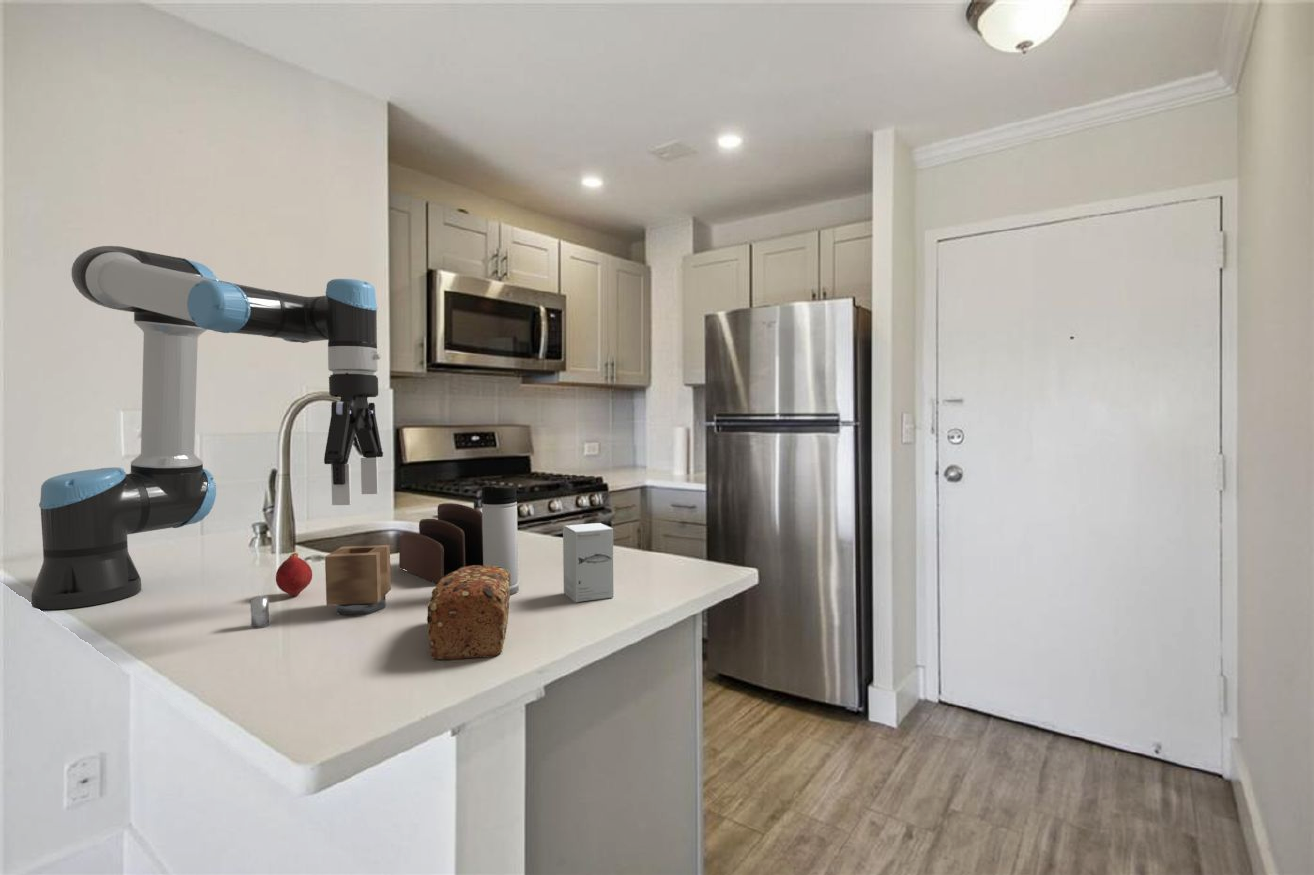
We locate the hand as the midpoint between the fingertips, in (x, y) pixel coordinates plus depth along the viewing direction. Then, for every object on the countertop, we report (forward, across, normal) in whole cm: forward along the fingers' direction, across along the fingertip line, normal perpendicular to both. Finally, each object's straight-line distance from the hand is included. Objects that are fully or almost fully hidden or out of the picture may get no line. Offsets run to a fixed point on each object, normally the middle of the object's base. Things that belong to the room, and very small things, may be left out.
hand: (356, 499), depth 110 cm
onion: (+19, +10, +15) cm, 26 cm away
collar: (+17, 0, 0) cm, 17 cm away
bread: (+19, -17, -22) cm, 34 cm away
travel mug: (+19, +6, -23) cm, 30 cm away
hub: (+19, 0, 0) cm, 19 cm away
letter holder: (+19, +23, -9) cm, 31 cm away
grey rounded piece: (+19, -7, +12) cm, 24 cm away
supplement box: (+19, +2, -39) cm, 43 cm away
